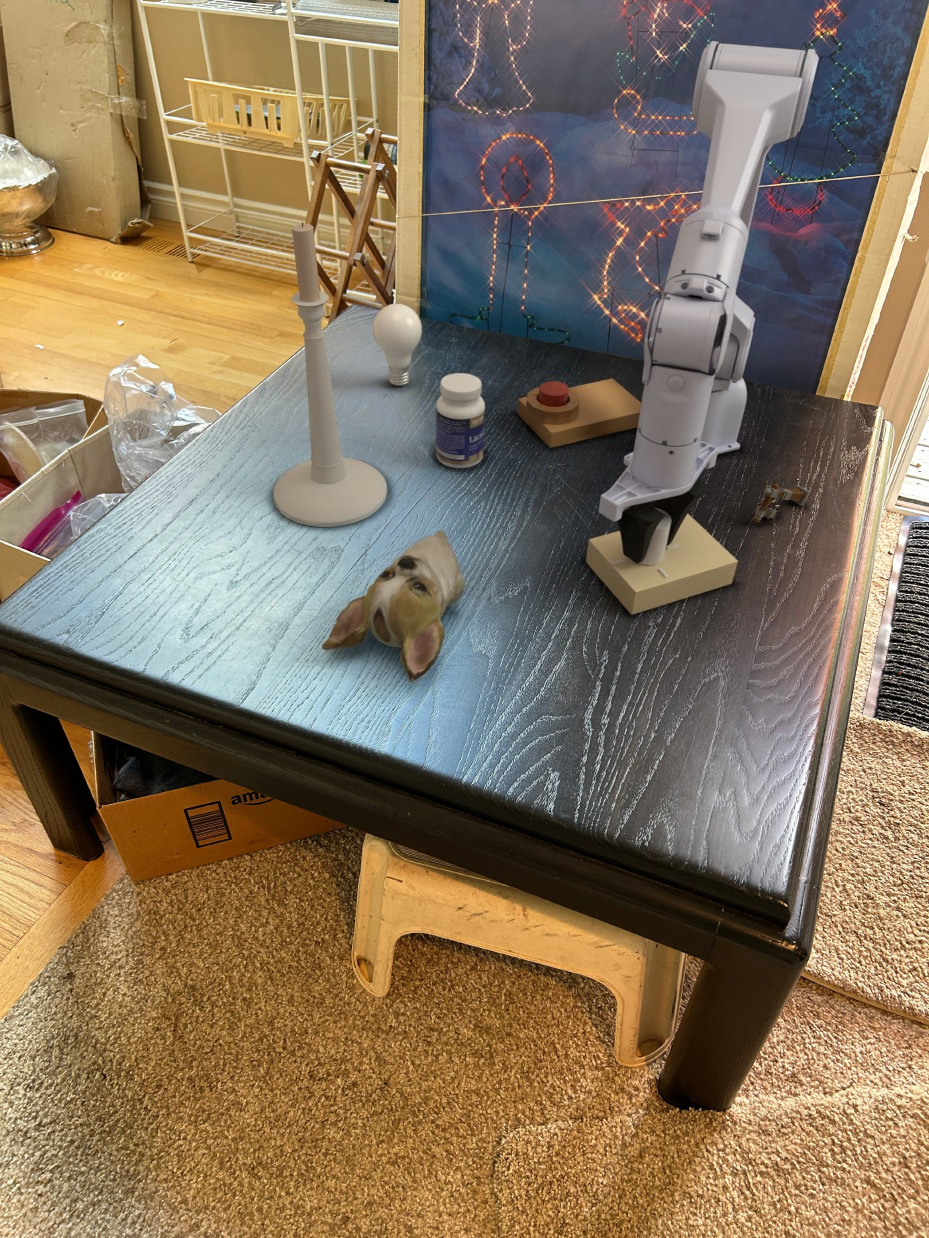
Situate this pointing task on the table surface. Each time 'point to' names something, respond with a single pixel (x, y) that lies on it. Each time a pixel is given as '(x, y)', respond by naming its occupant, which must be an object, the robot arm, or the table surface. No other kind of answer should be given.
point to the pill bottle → (460, 421)
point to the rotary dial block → (663, 568)
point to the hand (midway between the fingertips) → (647, 549)
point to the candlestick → (323, 423)
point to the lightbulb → (397, 339)
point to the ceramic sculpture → (406, 605)
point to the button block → (581, 413)
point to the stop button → (553, 394)
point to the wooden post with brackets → (775, 492)
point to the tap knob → (658, 542)
